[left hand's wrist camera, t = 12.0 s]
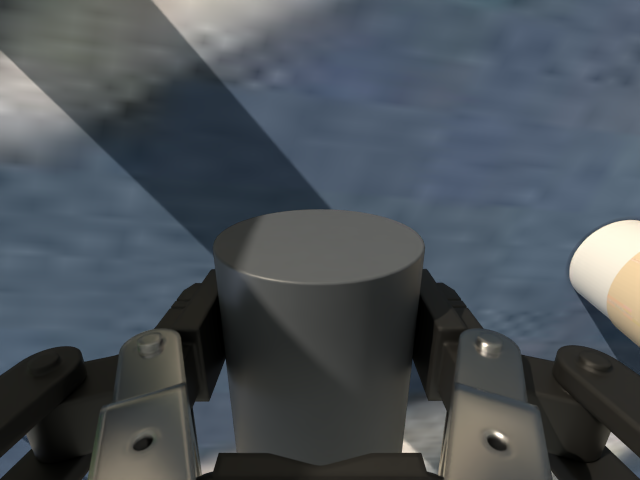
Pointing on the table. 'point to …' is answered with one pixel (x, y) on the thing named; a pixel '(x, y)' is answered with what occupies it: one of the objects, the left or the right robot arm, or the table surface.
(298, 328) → the cylinder
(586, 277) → the coffee cup
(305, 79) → the table surface
